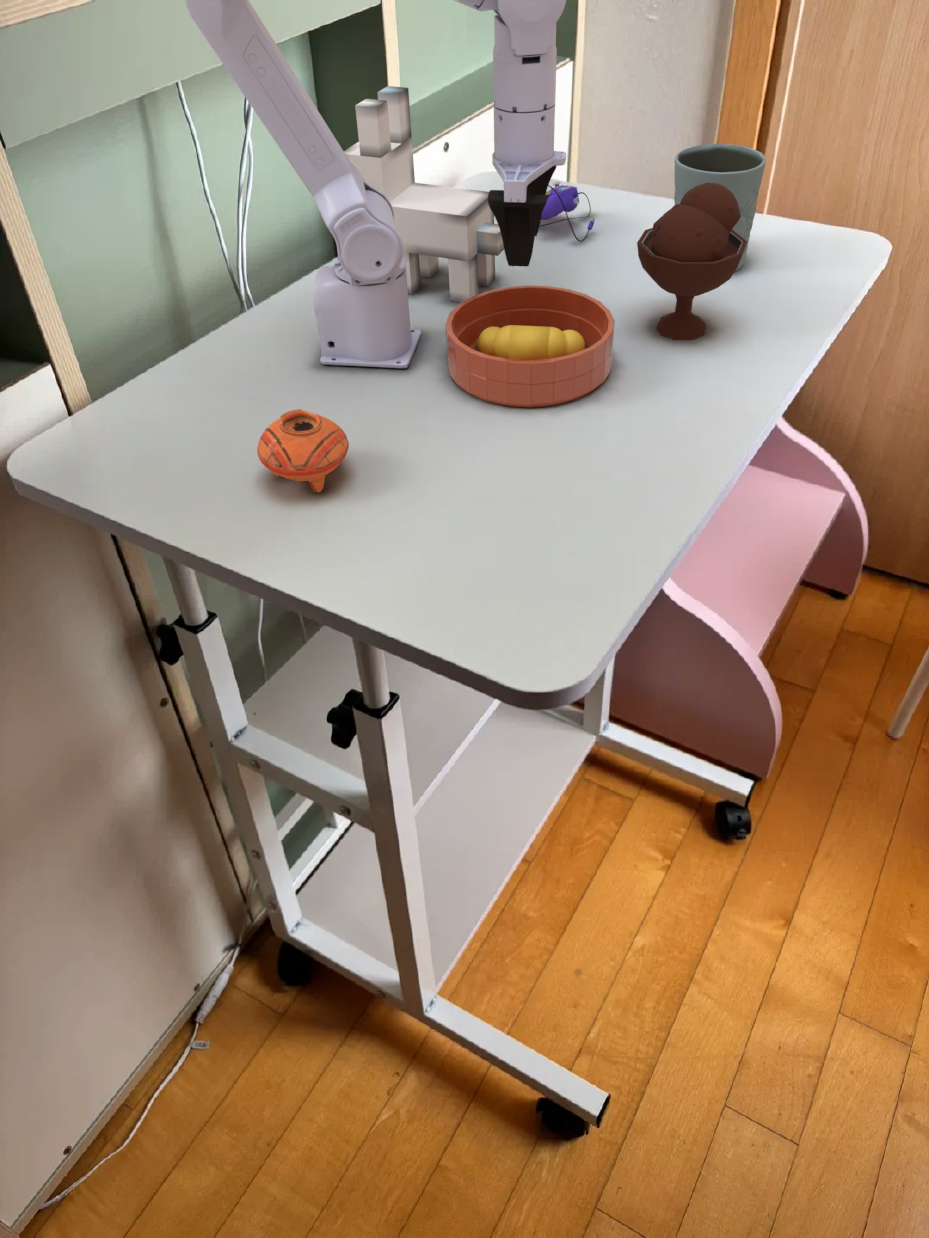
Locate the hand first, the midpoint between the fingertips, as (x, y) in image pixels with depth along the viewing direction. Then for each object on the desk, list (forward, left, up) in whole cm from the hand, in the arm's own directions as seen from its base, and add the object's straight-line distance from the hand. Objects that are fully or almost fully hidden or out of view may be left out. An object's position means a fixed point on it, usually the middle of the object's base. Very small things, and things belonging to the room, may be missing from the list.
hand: (523, 249), depth 98 cm
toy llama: (-12, +12, -10) cm, 19 cm away
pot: (-16, -29, -10) cm, 34 cm away
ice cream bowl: (+17, +3, -10) cm, 20 cm away
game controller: (+2, +30, -10) cm, 32 cm away
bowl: (+2, -7, -9) cm, 12 cm away
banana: (+2, -7, -9) cm, 11 cm away
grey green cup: (+20, +21, -10) cm, 31 cm away
